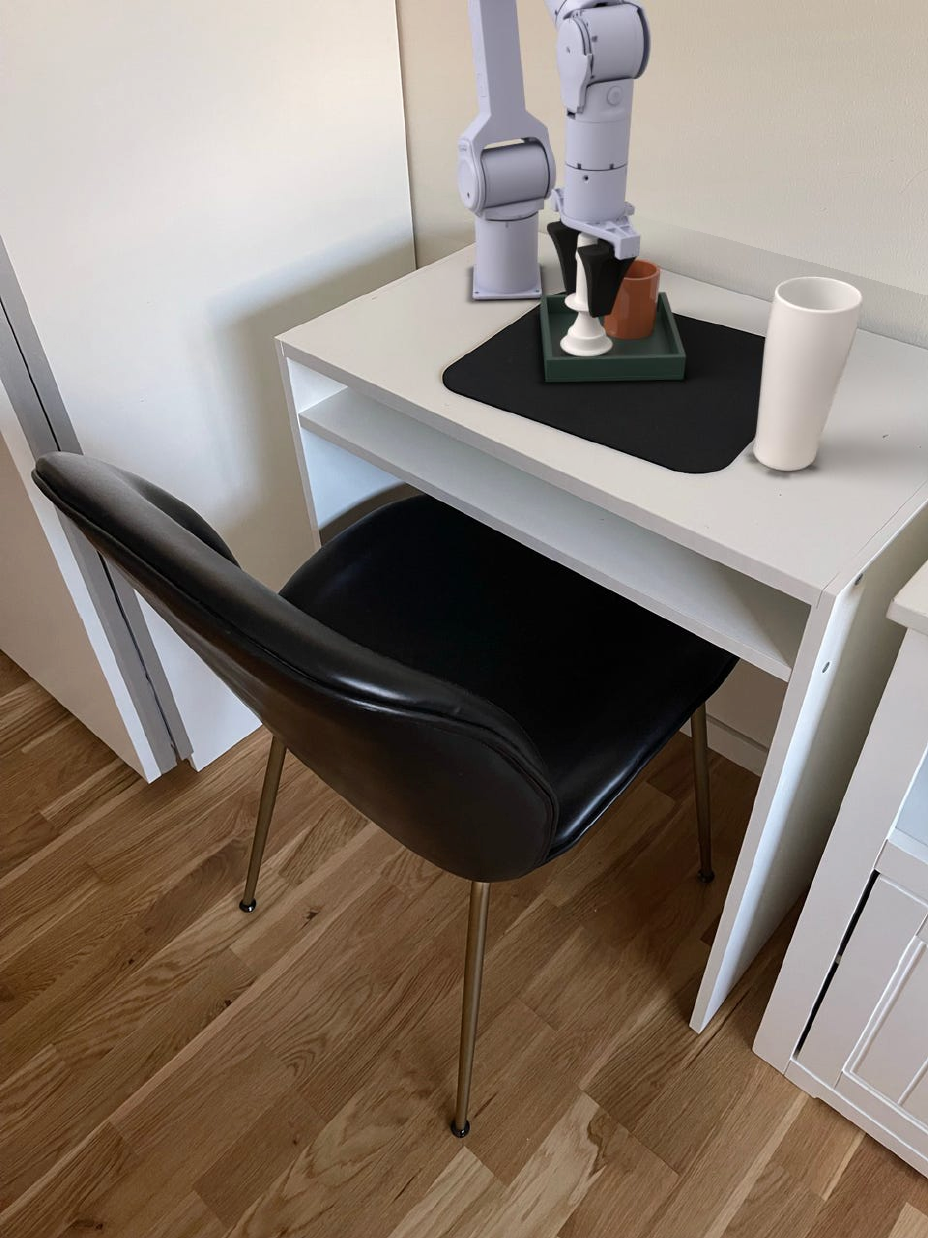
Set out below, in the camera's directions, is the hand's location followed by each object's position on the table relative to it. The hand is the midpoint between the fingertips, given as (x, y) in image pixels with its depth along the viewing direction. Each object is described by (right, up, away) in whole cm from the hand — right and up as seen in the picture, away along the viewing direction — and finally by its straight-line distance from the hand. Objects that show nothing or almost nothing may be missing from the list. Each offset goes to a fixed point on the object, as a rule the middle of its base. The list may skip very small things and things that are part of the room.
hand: (588, 304), depth 96 cm
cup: (+5, 0, +7) cm, 9 cm away
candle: (0, -3, +3) cm, 5 cm away
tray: (+3, -3, +6) cm, 7 cm away
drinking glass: (+16, -17, -11) cm, 26 cm away
